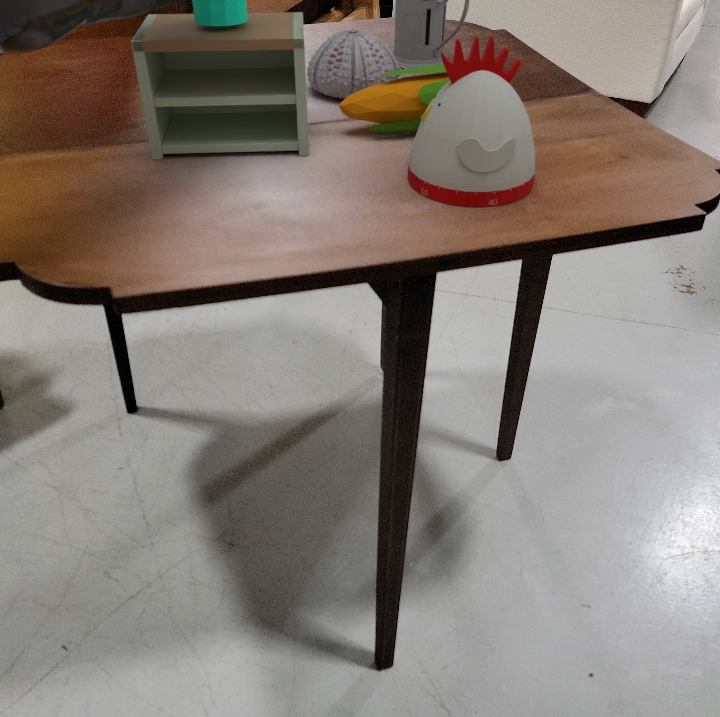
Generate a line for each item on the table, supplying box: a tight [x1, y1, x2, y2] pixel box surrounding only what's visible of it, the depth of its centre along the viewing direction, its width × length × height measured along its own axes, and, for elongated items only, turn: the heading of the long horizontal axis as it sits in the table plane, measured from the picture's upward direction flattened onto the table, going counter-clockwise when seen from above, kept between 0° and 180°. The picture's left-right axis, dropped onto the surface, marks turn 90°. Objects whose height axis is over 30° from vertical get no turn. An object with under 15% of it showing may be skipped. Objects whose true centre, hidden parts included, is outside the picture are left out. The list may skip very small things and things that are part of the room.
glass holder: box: [393, 0, 470, 68], centre depth 111 cm, size 9×14×15 cm, turn 39°
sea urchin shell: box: [306, 29, 401, 100], centre depth 104 cm, size 13×14×8 cm
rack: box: [130, 11, 310, 161], centre depth 87 cm, size 18×12×13 cm, turn 94°
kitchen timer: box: [407, 35, 536, 208], centre depth 77 cm, size 14×14×15 cm
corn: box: [338, 64, 450, 135], centre depth 92 cm, size 7×8×20 cm
